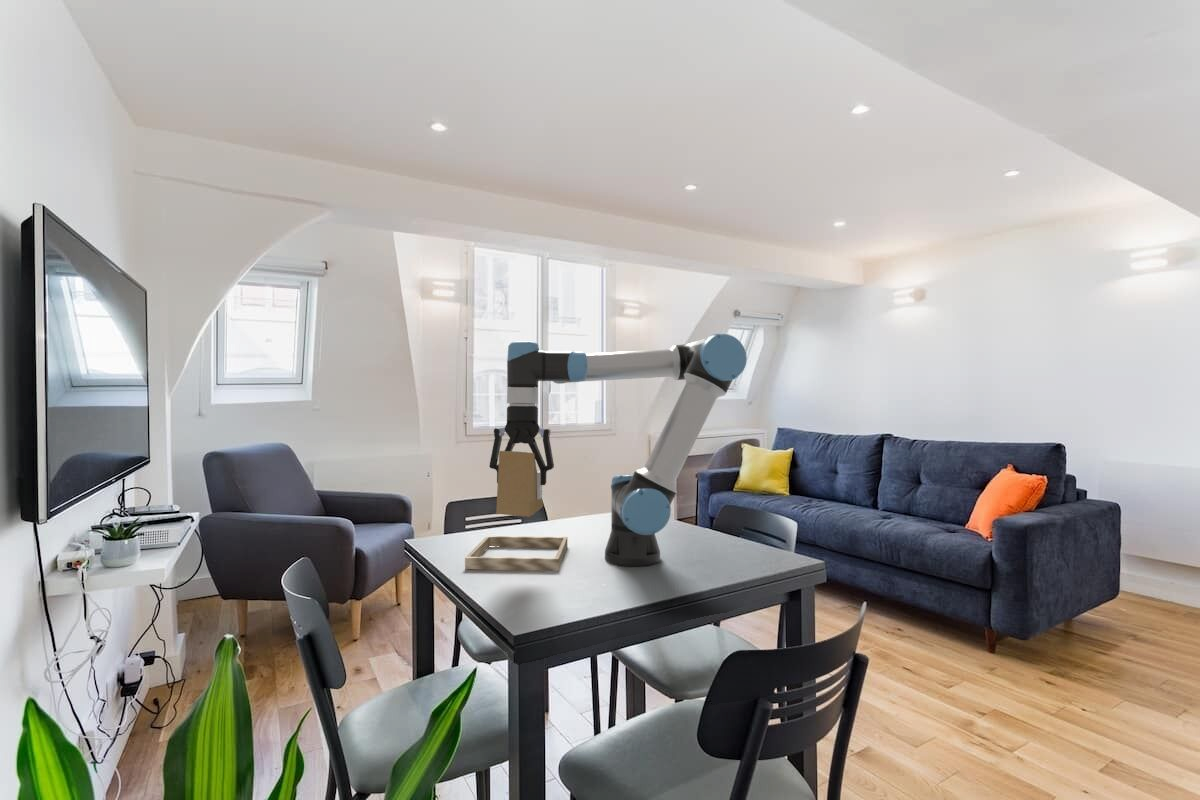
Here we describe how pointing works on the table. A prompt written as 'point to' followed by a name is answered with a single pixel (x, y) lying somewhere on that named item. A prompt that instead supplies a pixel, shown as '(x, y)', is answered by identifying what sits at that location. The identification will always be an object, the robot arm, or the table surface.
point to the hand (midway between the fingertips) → (521, 497)
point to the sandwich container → (517, 484)
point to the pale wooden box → (516, 563)
